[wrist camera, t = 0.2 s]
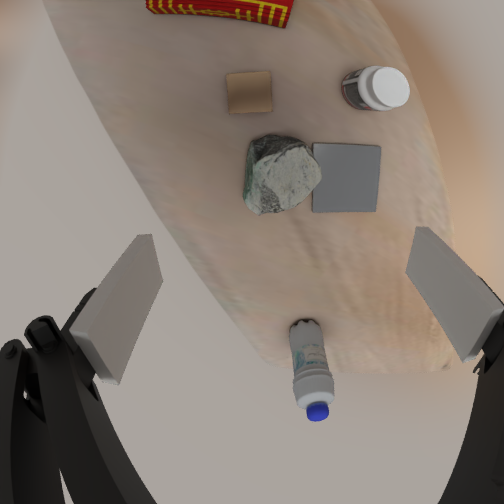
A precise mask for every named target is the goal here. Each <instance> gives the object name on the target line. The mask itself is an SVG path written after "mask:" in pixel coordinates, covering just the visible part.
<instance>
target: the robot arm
mask: <svg viewBox="0 0 504 504" xmlns="http://www.w3.org/2000/svg"><path fill="white" fill-rule="evenodd" d="M406 274H407V275H408V277H409V278H410V279H411V281H412V282H413V284H414V285H415V287H416V288H417V289H418V291H419V292H420V294H421V295H422V297H423V298H424V300H425V301H426V303H427V304H428V306H429V307H430V309H431V310H432V312H433V314H434V315H435V317H436V318H437V320H438V321H439V323H440V325H441V326H442V328H443V330H444V331H445V333H446V335H447V336H448V338H449V340H450V341H451V343H452V345H453V347H454V348H455V350H456V352H457V354H458V355H459V357H460V359H461V361H462V362H463V363H464V362H467V361H470V360H473V359H475V358H476V356H477V355H478V353H479V352H480V350H481V349H482V350H483V351H484V353H485V354H484V355H483V357H482V358H481V360H480V361H479V363H478V364H477V366H476V367H475V368H474V370H473V373H475V372H476V370H477V369H478V368H480V370H479V372H478V373H477V374H478V375H479V377H478V384H477V389H476V394H475V399H474V403H473V408H472V412H471V416H470V420H469V424H468V427H467V431H466V434H465V438H464V441H463V444H462V447H461V450H460V453H459V456H458V459H457V462H456V464H455V467H454V469H453V472H452V474H451V477H450V479H449V481H448V484H447V486H446V488H445V490H444V493H443V495H442V497H441V499H440V501H439V503H438V504H504V304H503V302H502V301H501V300H500V299H499V298H498V296H497V295H496V294H495V293H494V292H492V289H491V288H490V287H489V286H488V285H487V284H486V283H485V281H484V280H483V279H482V278H480V277H479V276H478V275H476V274H475V272H474V271H472V269H471V268H470V267H469V266H468V265H467V264H466V263H465V262H464V261H463V260H462V259H461V258H460V257H459V256H458V255H457V254H456V253H455V252H454V251H453V250H452V249H451V248H450V247H449V246H448V245H447V244H446V243H445V242H444V241H443V240H442V239H440V238H439V237H438V236H437V235H436V234H435V233H434V232H433V231H432V230H431V229H429V228H428V227H416V230H415V235H414V239H413V244H412V248H411V252H410V256H409V260H408V264H407V268H406ZM162 283H163V279H162V275H161V271H160V267H159V263H158V260H157V255H156V251H155V246H154V242H153V238H152V234H145V235H137V237H136V238H135V239H134V240H133V242H132V243H131V244H130V245H129V247H128V248H127V249H126V251H125V252H124V253H123V254H122V256H121V257H120V258H119V259H118V261H117V262H116V263H115V265H114V266H113V267H112V269H111V270H110V271H109V273H108V274H107V275H106V277H105V278H104V279H103V281H102V282H101V284H100V285H99V286H98V288H93V289H92V290H91V291H89V292H88V293H87V294H86V295H85V296H84V297H83V299H82V300H81V302H80V303H79V305H78V306H77V307H76V308H75V312H73V313H72V314H71V316H70V317H69V319H68V320H67V322H66V323H65V325H64V326H63V328H62V329H61V331H60V330H59V328H58V326H57V325H56V323H55V321H54V319H53V317H51V316H41V317H38V318H36V319H35V320H33V321H32V322H31V323H30V324H29V325H28V326H27V328H26V330H25V333H24V336H25V337H26V339H27V340H28V342H29V343H30V345H31V346H32V348H28V349H26V348H25V347H24V345H23V344H22V342H21V341H20V340H18V339H13V340H11V341H8V342H7V343H5V344H4V346H3V347H2V348H1V350H0V504H65V500H64V495H63V490H62V483H61V477H60V471H61V473H62V476H63V478H64V481H65V484H66V487H67V489H68V491H69V494H70V496H71V498H72V501H73V503H74V504H157V503H156V502H155V500H154V499H153V497H152V496H151V494H150V493H149V491H148V490H147V488H146V487H145V485H144V483H143V482H142V480H141V478H140V477H139V475H138V473H137V472H136V470H135V468H134V466H133V465H132V463H131V461H130V459H129V458H128V456H127V454H126V452H125V450H124V448H123V446H122V444H121V442H120V440H119V438H118V436H117V434H116V432H115V430H114V428H113V425H112V423H111V421H110V419H109V417H108V414H107V412H106V409H105V407H104V405H103V402H102V400H101V397H100V395H99V392H98V389H97V387H96V384H95V383H94V381H93V378H94V375H95V373H96V374H97V375H98V376H99V378H100V379H101V381H102V382H105V383H110V384H115V385H119V384H120V381H121V379H122V375H123V373H124V371H125V368H126V366H127V363H128V360H129V358H130V356H131V353H132V351H133V348H134V346H135V343H136V341H137V339H138V336H139V334H140V332H141V329H142V327H143V325H144V322H145V320H146V318H147V315H148V313H149V311H150V309H151V307H152V304H153V302H154V300H155V298H156V296H157V293H158V291H159V289H160V287H161V285H162ZM24 391H25V392H26V393H27V397H26V399H25V398H24V395H23V394H24ZM59 468H60V469H59Z"/></svg>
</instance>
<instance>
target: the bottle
mask: <svg viewBox="0 0 504 504" xmlns="http://www.w3.org/2000/svg"><path fill="white" fill-rule="evenodd" d="M289 341H290V347H291V352H292V359H293V369H294V379H293V391H294V394H295V398H296V402H297V405H298V406H299V407H300V408H302V409H306V411H307V417H308V419H309V420H310V421H321V420H324V419H326V418H327V417H328V415H329V409H328V405H329V404H331V402H333V400H334V381H333V378H332V374H331V372H330V371H329V368H328V363H327V358H326V354H325V349H324V342H323V335H322V331H321V328H320V327H319V325H317V324H315V322H314V321H312V320H309V321H308V323H305V322H303V320H301V321H299V323H298V325H297V326H296V325H293V326H292V327H291V330H290V335H289Z"/></svg>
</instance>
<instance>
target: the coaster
mask: <svg viewBox="0 0 504 504" xmlns="http://www.w3.org/2000/svg"><path fill="white" fill-rule="evenodd" d="M312 146H313V157H314V159H315V160H316V161H317V163H318V164H319V165H320V167H321V170H322V171H321V172H322V179H321V181H320V182H319V183H318V184H317V185H316V187H315V188H314V189H313V190H312V212H313V213H314V212H376V205H377V196H378V186H379V174H380V159H381V147H380V146H371V145H356V144H334V143H312Z"/></svg>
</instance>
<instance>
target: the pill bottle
mask: <svg viewBox="0 0 504 504" xmlns="http://www.w3.org/2000/svg"><path fill="white" fill-rule="evenodd" d="M342 93H343V96H344V98H345V99H346V101H347V102H348V103H349V104H350V105H351V106H353V107H354V108H357V109H360V110H373V111H388V110H391V109H393V108H394V107H399V106H402V105H403V104H405V103H406V101H407V100H408V97H409V93H410V89H409V84H408V81H407V79H406V78H405V76H404V75H403V74H402V73H401V72H400V71H398V70H397V69H395V68H392V67H382V66H370V67H367V68H364V69H361V70H357V71H354V72H352V73H350V74H348V75H347V76H346V77H345V79H344V80H343V83H342Z"/></svg>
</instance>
